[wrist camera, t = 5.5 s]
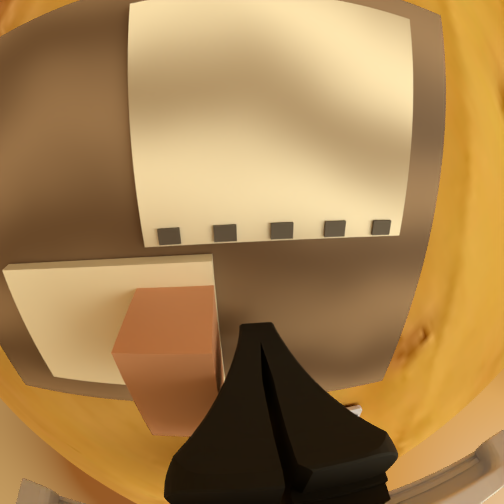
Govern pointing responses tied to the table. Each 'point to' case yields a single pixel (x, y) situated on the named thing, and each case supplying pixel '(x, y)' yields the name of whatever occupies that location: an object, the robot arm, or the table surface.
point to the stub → (130, 330)
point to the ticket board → (230, 163)
